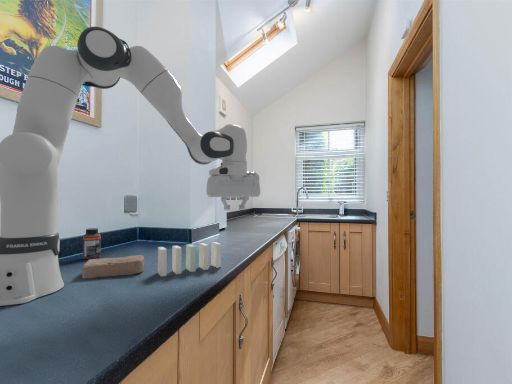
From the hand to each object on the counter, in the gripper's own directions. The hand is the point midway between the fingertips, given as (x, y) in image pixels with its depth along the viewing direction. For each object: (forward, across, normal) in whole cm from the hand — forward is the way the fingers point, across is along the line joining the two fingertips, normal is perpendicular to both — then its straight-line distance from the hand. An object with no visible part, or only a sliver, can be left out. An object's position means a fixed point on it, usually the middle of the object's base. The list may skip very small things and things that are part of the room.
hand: (234, 209), depth 97 cm
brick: (+20, +37, -10) cm, 43 cm away
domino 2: (+19, +21, 0) cm, 28 cm away
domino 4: (+19, +7, 0) cm, 20 cm away
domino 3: (+19, +12, 0) cm, 22 cm away
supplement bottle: (+19, +43, -36) cm, 59 cm away
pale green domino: (+19, +16, 0) cm, 25 cm away
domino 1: (+19, +25, 0) cm, 32 cm away
